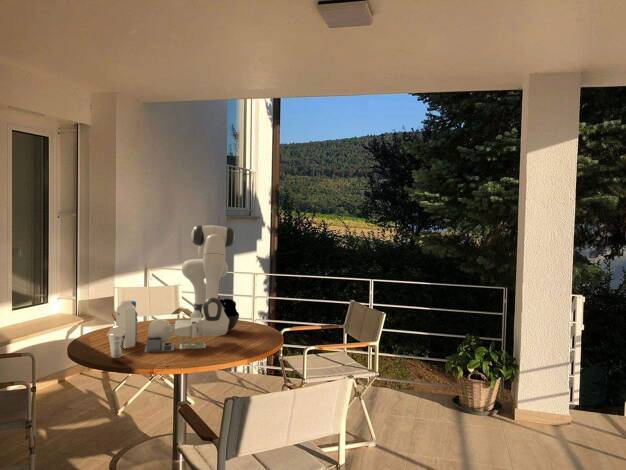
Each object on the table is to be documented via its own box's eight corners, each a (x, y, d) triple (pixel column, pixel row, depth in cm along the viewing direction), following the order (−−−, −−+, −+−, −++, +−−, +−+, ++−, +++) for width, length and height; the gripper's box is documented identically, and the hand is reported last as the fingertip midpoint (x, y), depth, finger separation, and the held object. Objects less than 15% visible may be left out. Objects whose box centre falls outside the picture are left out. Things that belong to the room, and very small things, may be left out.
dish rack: (146, 346, 253) (146, 333, 253) (174, 345, 256) (174, 332, 256) (144, 354, 238) (144, 340, 238) (173, 353, 241) (174, 339, 241)
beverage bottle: (131, 344, 257) (131, 303, 256) (115, 342, 258) (116, 302, 258) (140, 340, 265) (140, 300, 265) (125, 339, 267) (125, 299, 266)
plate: (148, 343, 247) (147, 319, 246) (172, 341, 249) (171, 318, 249) (147, 344, 245) (147, 320, 244) (172, 342, 247) (171, 319, 247)
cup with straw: (129, 354, 238) (129, 310, 237) (122, 359, 229) (123, 313, 228) (110, 353, 238) (110, 309, 237) (103, 359, 228) (103, 313, 228)
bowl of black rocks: (235, 337, 276) (236, 301, 275) (197, 336, 276) (198, 300, 276) (241, 329, 296) (242, 296, 295) (206, 328, 296) (206, 295, 296)
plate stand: (179, 346, 254) (179, 336, 253) (205, 345, 256) (205, 335, 256) (179, 351, 245) (179, 340, 245) (205, 350, 248) (206, 339, 247)
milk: (116, 347, 250) (116, 301, 249) (126, 344, 255) (126, 299, 255) (125, 349, 247) (125, 302, 246) (135, 346, 252) (135, 300, 252)
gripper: (194, 316, 261) (165, 317, 257) (195, 324, 241) (164, 325, 237) (194, 329, 261) (165, 330, 257) (195, 338, 241) (163, 339, 238)
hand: (164, 328), depth 247 cm, fingers closed on plate, 2 cm apart
